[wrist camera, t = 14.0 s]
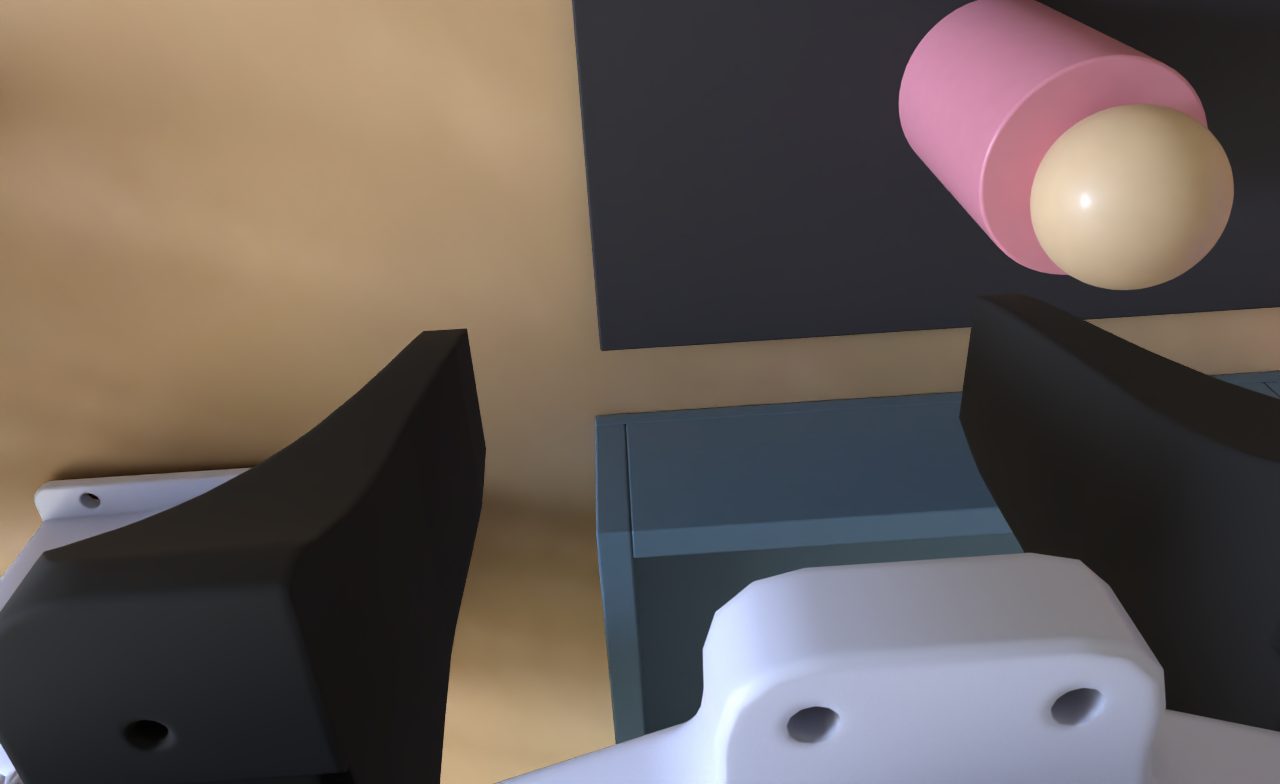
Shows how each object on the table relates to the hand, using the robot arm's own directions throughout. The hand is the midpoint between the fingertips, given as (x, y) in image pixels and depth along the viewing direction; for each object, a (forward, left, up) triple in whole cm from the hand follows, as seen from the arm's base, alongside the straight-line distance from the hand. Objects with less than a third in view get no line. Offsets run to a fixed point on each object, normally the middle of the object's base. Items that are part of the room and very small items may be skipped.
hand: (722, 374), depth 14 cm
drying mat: (+7, +1, -10) cm, 13 cm away
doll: (+7, +1, -10) cm, 12 cm away
